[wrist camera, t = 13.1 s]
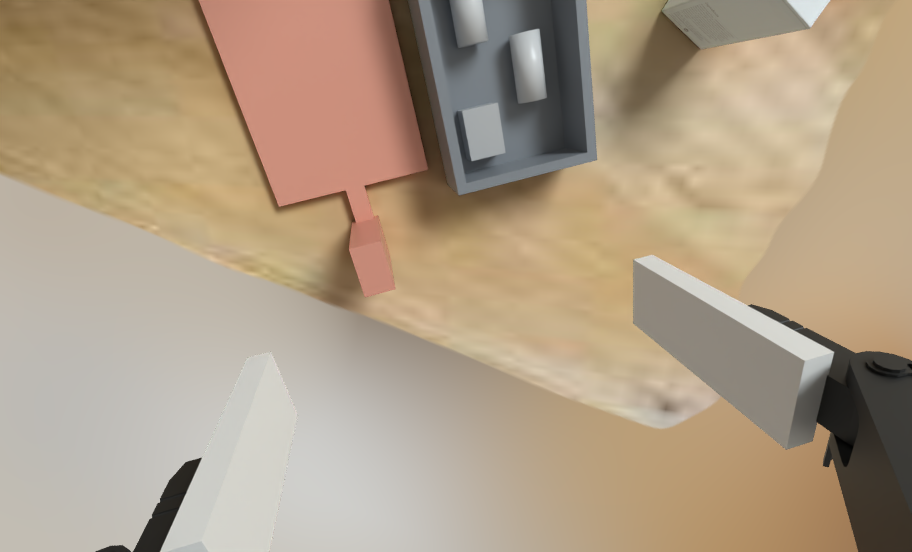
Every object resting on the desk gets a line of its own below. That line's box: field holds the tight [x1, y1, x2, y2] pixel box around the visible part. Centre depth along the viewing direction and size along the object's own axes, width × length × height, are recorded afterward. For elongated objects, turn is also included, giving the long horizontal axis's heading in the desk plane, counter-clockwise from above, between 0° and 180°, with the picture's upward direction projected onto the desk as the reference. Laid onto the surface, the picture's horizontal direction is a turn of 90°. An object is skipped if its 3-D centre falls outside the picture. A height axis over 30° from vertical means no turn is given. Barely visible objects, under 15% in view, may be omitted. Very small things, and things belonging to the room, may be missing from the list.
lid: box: [199, 0, 428, 297], centre depth 31 cm, size 26×13×8 cm, turn 12°
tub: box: [408, 0, 597, 195], centre depth 33 cm, size 18×12×5 cm, turn 12°
